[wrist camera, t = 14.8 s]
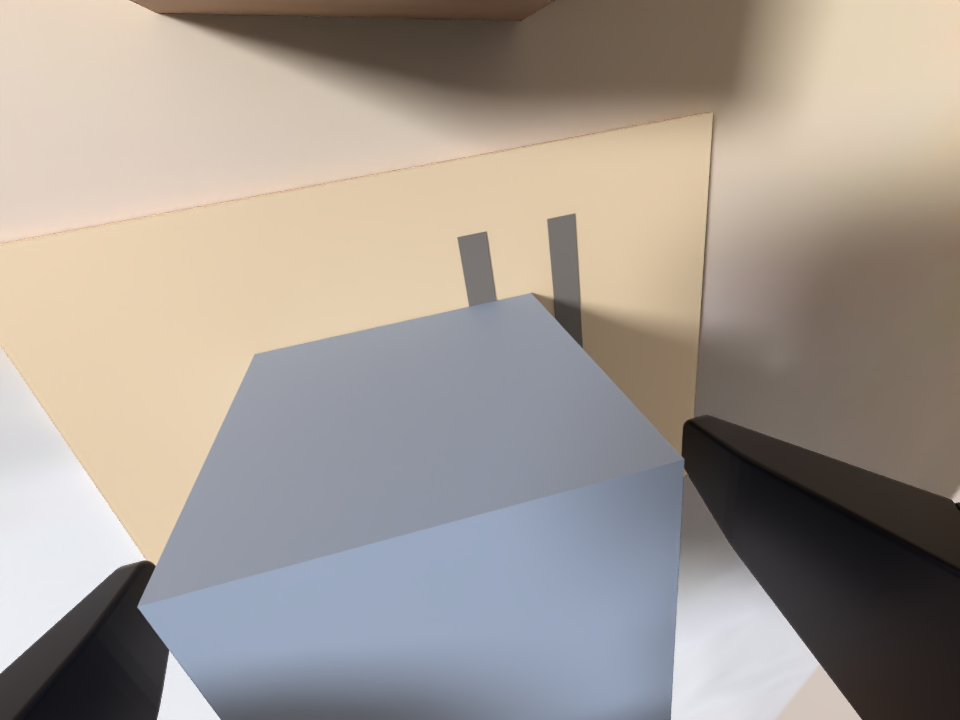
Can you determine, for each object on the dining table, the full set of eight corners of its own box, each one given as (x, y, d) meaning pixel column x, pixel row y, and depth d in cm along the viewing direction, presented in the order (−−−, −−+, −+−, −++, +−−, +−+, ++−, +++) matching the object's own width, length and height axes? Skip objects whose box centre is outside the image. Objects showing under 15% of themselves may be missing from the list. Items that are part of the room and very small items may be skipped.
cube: (553, 495, 11) (670, 732, 7) (337, 553, 11) (317, 849, 7) (531, 293, 9) (684, 459, 5) (254, 354, 9) (137, 606, 4)
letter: (705, 112, 9) (714, 112, 8) (685, 469, 12) (691, 475, 12) (-51, 252, 7) (-63, 256, 7) (184, 604, 11) (181, 613, 11)
